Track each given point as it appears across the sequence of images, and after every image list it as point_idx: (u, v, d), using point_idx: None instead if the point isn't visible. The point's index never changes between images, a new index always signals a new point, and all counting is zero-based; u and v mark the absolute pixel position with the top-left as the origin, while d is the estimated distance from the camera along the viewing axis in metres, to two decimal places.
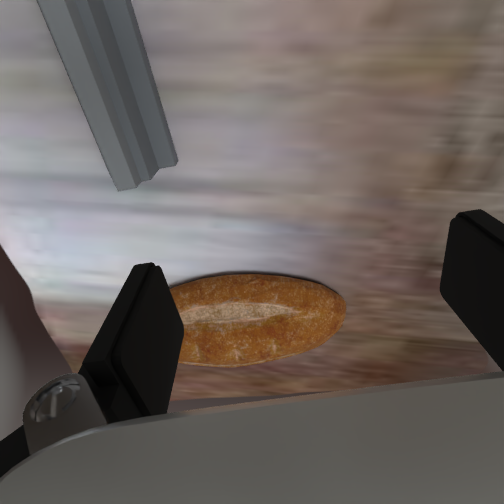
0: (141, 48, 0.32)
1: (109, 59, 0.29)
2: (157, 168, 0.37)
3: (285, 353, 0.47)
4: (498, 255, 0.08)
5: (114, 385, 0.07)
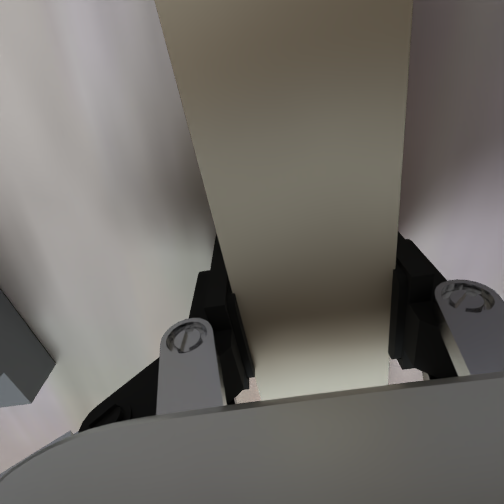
0: None
1: None
2: None
3: None
4: None
5: (227, 330, 0.08)
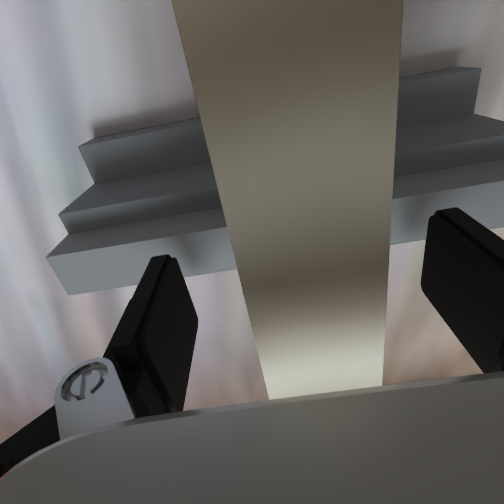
0: None
1: None
2: None
3: None
4: (469, 250, 0.08)
5: (138, 369, 0.07)
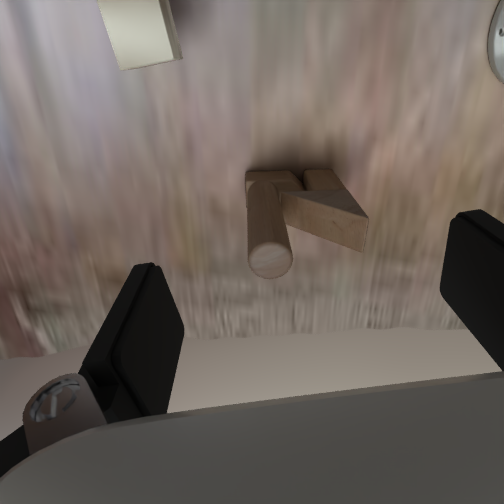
0: None
1: None
2: None
3: None
4: (498, 255, 0.08)
5: (114, 385, 0.07)
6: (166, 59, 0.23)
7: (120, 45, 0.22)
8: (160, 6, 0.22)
